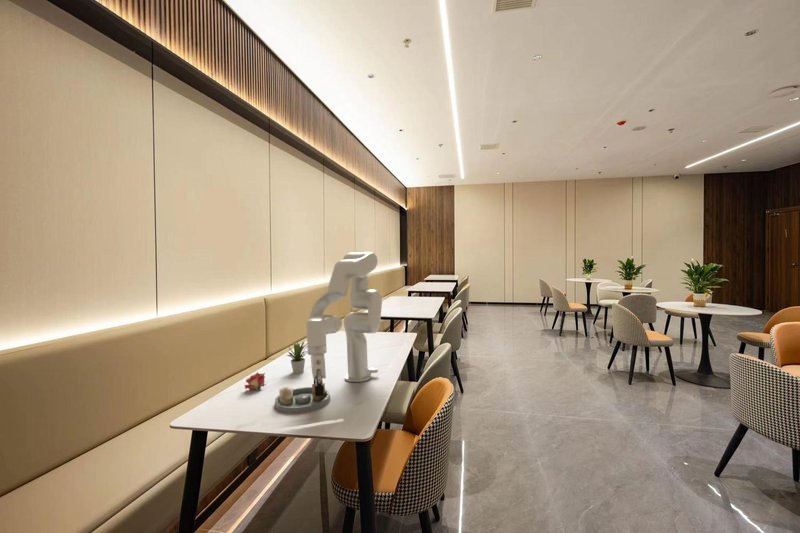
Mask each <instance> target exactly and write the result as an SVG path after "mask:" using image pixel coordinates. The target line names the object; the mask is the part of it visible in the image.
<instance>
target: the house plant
mask: <svg viewBox="0 0 800 533" xmlns="http://www.w3.org/2000/svg"><path fill="white" fill-rule="evenodd" d="M305 342H306V341H305V340H304V341H302V343H301V344H300V343H299V342H298V340H296V341H293V350H292V348H291V347H289V346H288V345H284V346H285V347H287V348H288V349H289V350H290V351H288V354H286V356H287V357H290V358H291V359H290V363H291V369H292V373H293V374H302V373H304V372H305V371H304V370H305V361H306V359H305V358H304V357H305V356H306V354H308V353H307V351H305V350H306V348H307V343H305Z"/></svg>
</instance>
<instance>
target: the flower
mask: <svg viewBox="0 0 800 533" xmlns="http://www.w3.org/2000/svg"><path fill="white" fill-rule="evenodd" d="M265 377H266V375H265V372H264V373H259V372H255V374H253V375H251V376H250V377H248V378H247V379H245V381H246V383H247V384H245V385H244V389H245V390H247V389H248V390H249V391H257V389H258V391H262V389H261V388H262V387H264V386H266V384H267V383H266V384H265Z"/></svg>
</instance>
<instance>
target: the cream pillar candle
mask: <svg viewBox="0 0 800 533" xmlns="http://www.w3.org/2000/svg"><path fill="white" fill-rule="evenodd" d="M293 389H294V388H293V387H292V386H283V387H281V388H279V389H278V390H279V391H278V392H279V395H280V405H283V406H290V405H292V404H293ZM279 395H278V396H279Z"/></svg>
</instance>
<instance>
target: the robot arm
mask: <svg viewBox="0 0 800 533" xmlns="http://www.w3.org/2000/svg"><path fill="white" fill-rule="evenodd" d="M377 266H378V256H377V255H376V254H375V253H374V252H371V251H363V252H348V253H346V254H345V255H343V259H341V260H339V261H337V262H336V263H335V264H334V266H333V270H332V273H331V275H330V276H331V277H330V280H329V282H328V286H327V289H326V291H324V293H323V294H322V295H320V296H319V298H318V299H317V300H315V303H314V304H312V305H313V306H312V307H311V311H310V314H309V317H308V319H307V320H306V323H305V325H306V326H305V327H306V344H307V346H306V348H307V353H306V354H307V355H308V356H310V365H311V366H310V367H311V373H312V374H311V375H312V378H313V384H314V383H316V386H315V396H323V395H324V387H323V383H324V382H323V380H324V379H326V378H327V375H326V374H327V373H326V360H325V359H326V358H325V354H326V353H327V350H328V349H327V335H330V334H336V333H338V332H339V331H340V330H341V328H342V326H343V327H344V331H345V338H346V354H347V355H346V356H347V359H346V360H347V374H346V375H344V380H345V381H346V382H350V383H362V382H367V381H369V380H370V379H371V378H372V374H376V373H379V370H378V368H374V367H371V368H369V365H368V364H369V363H368V362H369V361H368V341H367V337H366V336H365V334H375V333H377V332H378V331H379V330H380V327H381V320H382V307H383V306H382V305H383V299H382V295H381V293H380V292H379V291H378V290H376V289H369V281H370V280H369V278H368V274H371V272H373V271H374V270H375V269H376V267H377ZM349 286H350V291H349V299H348V300H349V301H348V302H349V306H350V308H351V309H355V310H366V311H367V312H365V311H363V312H360V311H352V312H349V313H346V315H345V316H344V319H343V321H342V319H341V318H340V317H339V316H337V315H334V314H325V313H324V312H325V311H326V310H327V308H328V307H329V306H330V305H332V304H333V303H336V302H338V301H340V300H341V299H344V298H345V297H346V296H347V293H348V289H349Z"/></svg>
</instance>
